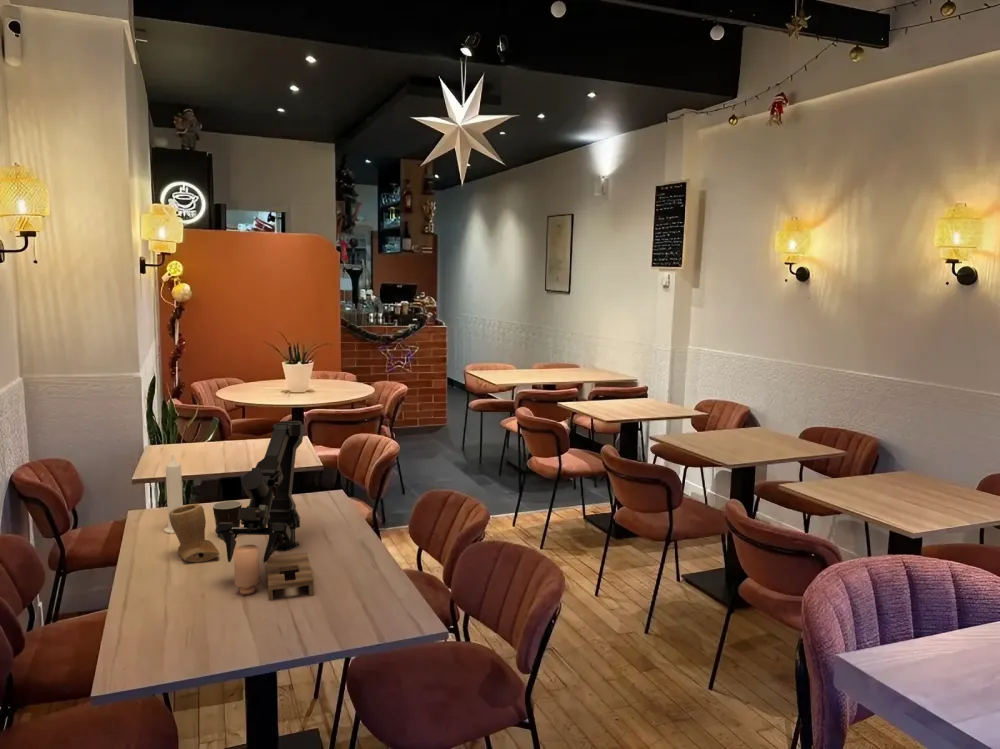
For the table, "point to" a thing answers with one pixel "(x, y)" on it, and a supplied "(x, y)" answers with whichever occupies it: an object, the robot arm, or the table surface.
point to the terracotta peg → (246, 568)
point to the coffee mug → (227, 512)
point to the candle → (173, 488)
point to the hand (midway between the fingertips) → (246, 561)
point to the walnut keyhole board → (287, 564)
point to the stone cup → (192, 533)
